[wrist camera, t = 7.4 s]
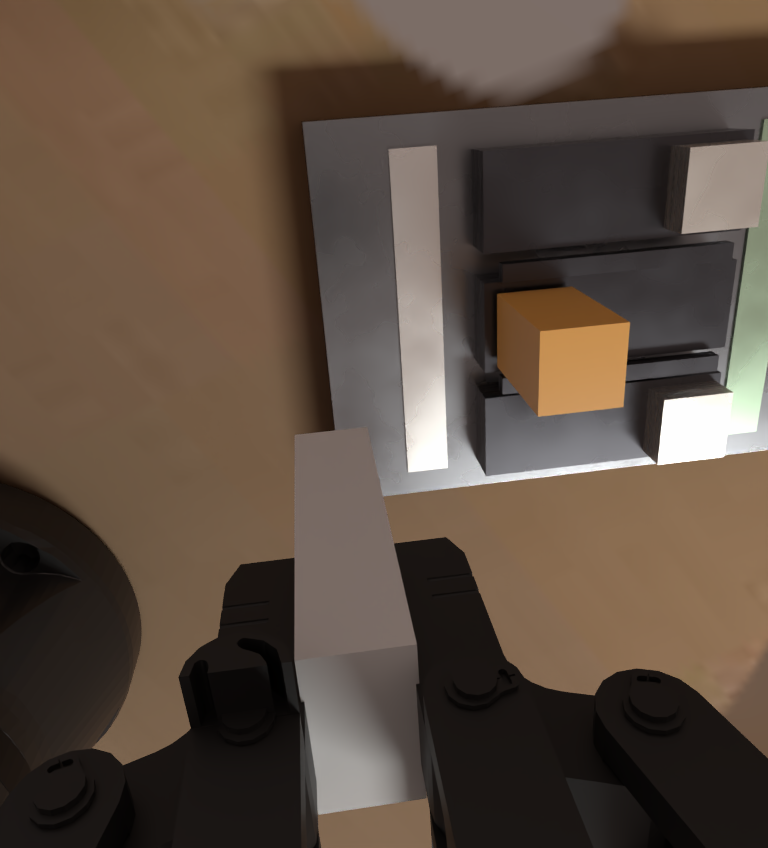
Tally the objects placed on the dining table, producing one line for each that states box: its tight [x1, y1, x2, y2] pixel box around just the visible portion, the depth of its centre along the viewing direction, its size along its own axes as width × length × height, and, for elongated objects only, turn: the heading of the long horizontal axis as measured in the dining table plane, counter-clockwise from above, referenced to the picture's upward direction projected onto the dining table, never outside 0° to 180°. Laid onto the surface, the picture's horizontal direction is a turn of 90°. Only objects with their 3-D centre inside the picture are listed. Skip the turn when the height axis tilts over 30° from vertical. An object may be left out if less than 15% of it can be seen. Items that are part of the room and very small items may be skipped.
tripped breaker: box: [497, 286, 630, 417], centre depth 22 cm, size 3×3×4 cm
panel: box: [302, 86, 768, 496], centre depth 26 cm, size 20×14×5 cm
